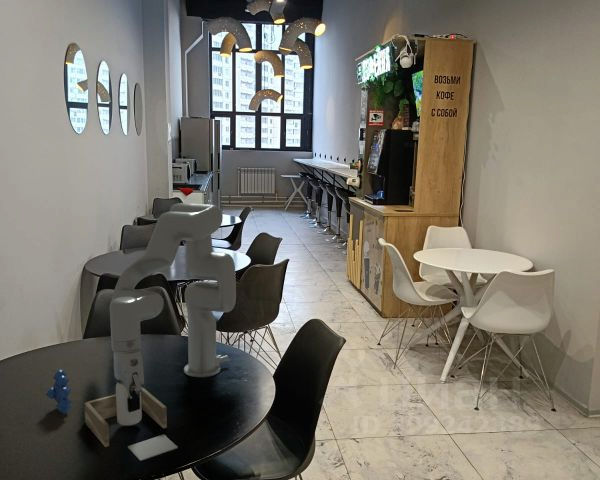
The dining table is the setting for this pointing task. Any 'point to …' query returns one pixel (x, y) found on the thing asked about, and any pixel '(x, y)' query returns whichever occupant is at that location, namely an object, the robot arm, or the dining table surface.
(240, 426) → the dining table surface
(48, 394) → the grapes
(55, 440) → the dining table surface
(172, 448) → the mat
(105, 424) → the wooden u-shaped frame
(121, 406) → the can
